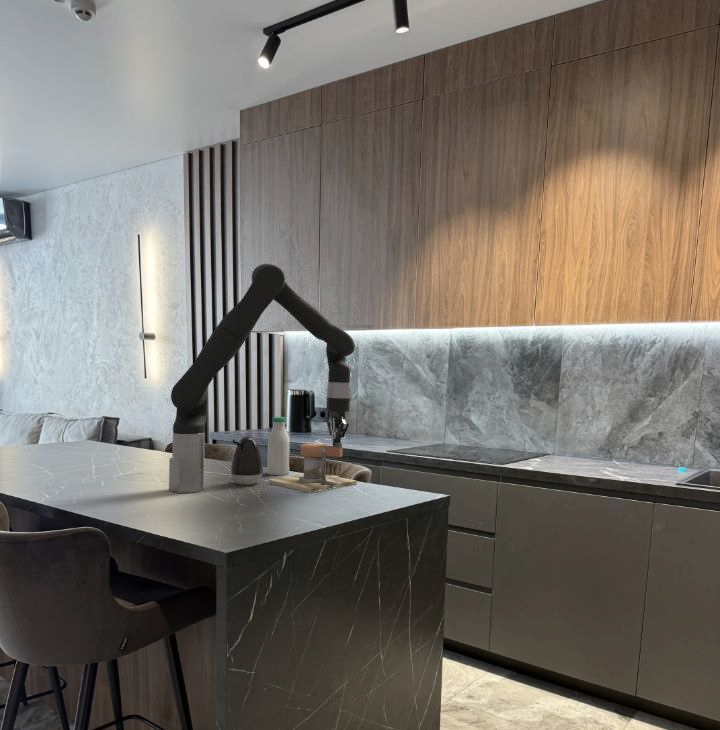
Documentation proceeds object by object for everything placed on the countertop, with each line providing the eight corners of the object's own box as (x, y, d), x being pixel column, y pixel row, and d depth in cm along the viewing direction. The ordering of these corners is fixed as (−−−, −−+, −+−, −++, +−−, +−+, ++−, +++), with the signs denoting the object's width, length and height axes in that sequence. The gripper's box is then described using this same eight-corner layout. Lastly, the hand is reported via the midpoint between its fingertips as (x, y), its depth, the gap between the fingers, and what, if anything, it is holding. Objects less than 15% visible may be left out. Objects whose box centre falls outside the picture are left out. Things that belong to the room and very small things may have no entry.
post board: (309, 492, 177) (310, 450, 177) (269, 483, 191) (269, 444, 191) (356, 484, 191) (357, 445, 191) (315, 476, 205) (316, 440, 205)
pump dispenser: (224, 483, 190) (224, 435, 190) (252, 479, 197) (253, 433, 197) (239, 488, 182) (240, 438, 182) (268, 484, 189) (269, 436, 189)
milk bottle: (287, 476, 205) (288, 418, 205) (265, 475, 205) (266, 417, 205) (290, 472, 212) (291, 416, 213) (268, 471, 212) (269, 416, 213)
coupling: (295, 455, 189) (295, 441, 189) (308, 452, 197) (308, 439, 197) (335, 458, 183) (335, 444, 183) (347, 455, 191) (347, 442, 191)
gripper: (357, 397, 186) (355, 452, 186) (340, 395, 198) (338, 447, 198) (335, 397, 183) (333, 453, 183) (320, 395, 195) (317, 447, 195)
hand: (336, 450), depth 191 cm, fingers closed
